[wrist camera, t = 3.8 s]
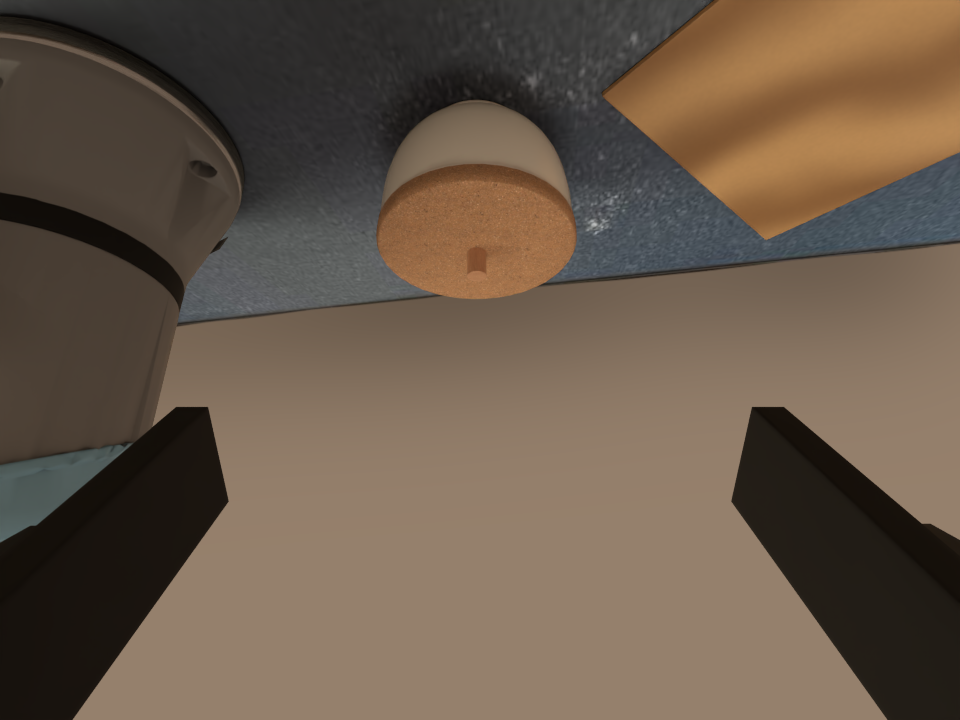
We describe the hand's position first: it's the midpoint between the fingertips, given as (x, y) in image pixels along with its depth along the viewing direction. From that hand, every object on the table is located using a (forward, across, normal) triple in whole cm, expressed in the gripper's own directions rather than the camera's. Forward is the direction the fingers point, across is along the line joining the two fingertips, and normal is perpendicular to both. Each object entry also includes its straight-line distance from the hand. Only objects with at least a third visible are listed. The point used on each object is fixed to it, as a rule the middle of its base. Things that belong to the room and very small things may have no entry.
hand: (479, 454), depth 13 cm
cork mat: (+20, -21, -11) cm, 30 cm away
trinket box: (+23, 0, -8) cm, 24 cm away
